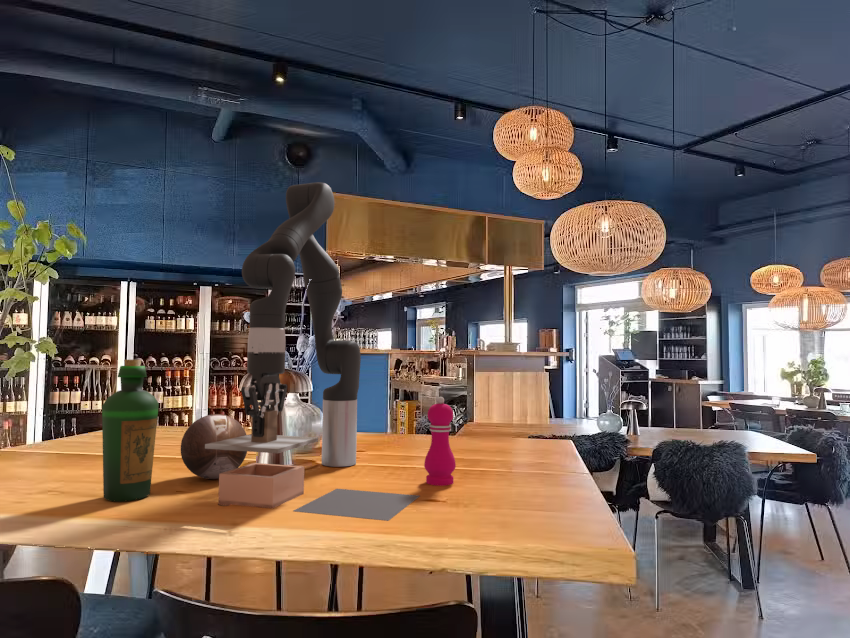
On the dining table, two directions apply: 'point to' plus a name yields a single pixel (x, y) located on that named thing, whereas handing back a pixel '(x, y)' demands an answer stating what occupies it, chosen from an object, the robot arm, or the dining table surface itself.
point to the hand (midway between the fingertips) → (264, 434)
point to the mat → (359, 504)
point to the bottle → (129, 436)
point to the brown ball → (211, 460)
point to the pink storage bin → (261, 485)
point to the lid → (263, 439)
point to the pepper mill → (440, 445)
